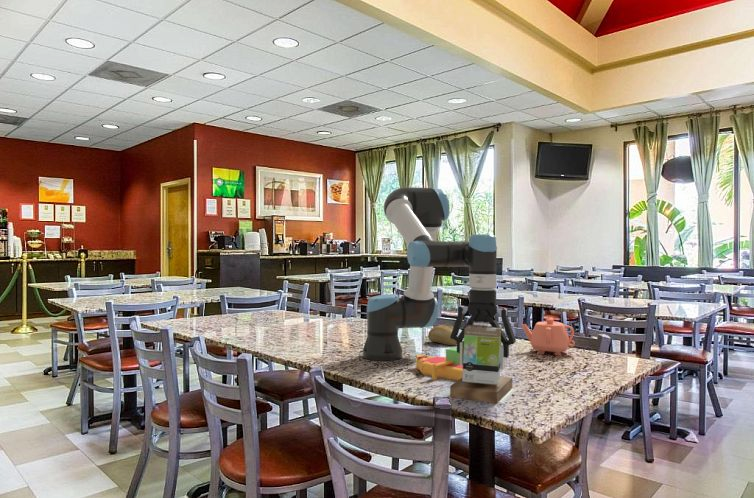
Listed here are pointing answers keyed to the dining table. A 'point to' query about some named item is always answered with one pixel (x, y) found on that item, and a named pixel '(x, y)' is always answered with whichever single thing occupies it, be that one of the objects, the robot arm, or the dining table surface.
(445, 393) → the blueprint board
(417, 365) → the raft
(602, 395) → the dining table surface
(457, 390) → the pedestal
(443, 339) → the bread roll
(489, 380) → the tea box
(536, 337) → the teapot
